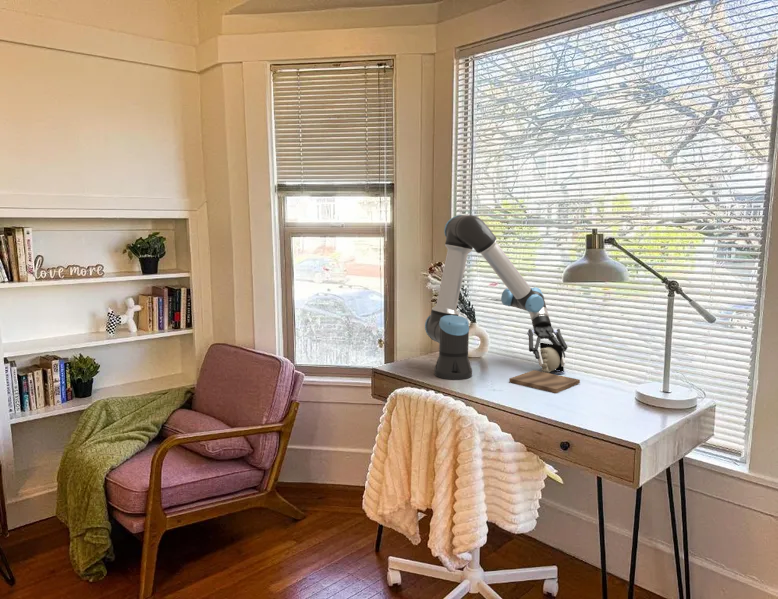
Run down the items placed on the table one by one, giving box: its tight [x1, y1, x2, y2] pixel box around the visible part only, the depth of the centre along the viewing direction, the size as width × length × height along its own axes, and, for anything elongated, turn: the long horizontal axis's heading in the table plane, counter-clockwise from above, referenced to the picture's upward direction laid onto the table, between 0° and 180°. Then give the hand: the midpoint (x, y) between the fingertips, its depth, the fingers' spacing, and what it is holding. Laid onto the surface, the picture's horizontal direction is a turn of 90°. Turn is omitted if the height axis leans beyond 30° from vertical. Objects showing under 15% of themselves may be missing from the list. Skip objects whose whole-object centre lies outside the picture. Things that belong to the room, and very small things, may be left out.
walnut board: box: [508, 369, 581, 394], centre depth 224 cm, size 20×18×2 cm
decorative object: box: [539, 341, 565, 373], centre depth 239 cm, size 12×10×10 cm
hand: (552, 365), depth 236 cm, fingers closed on decorative object, 8 cm apart
